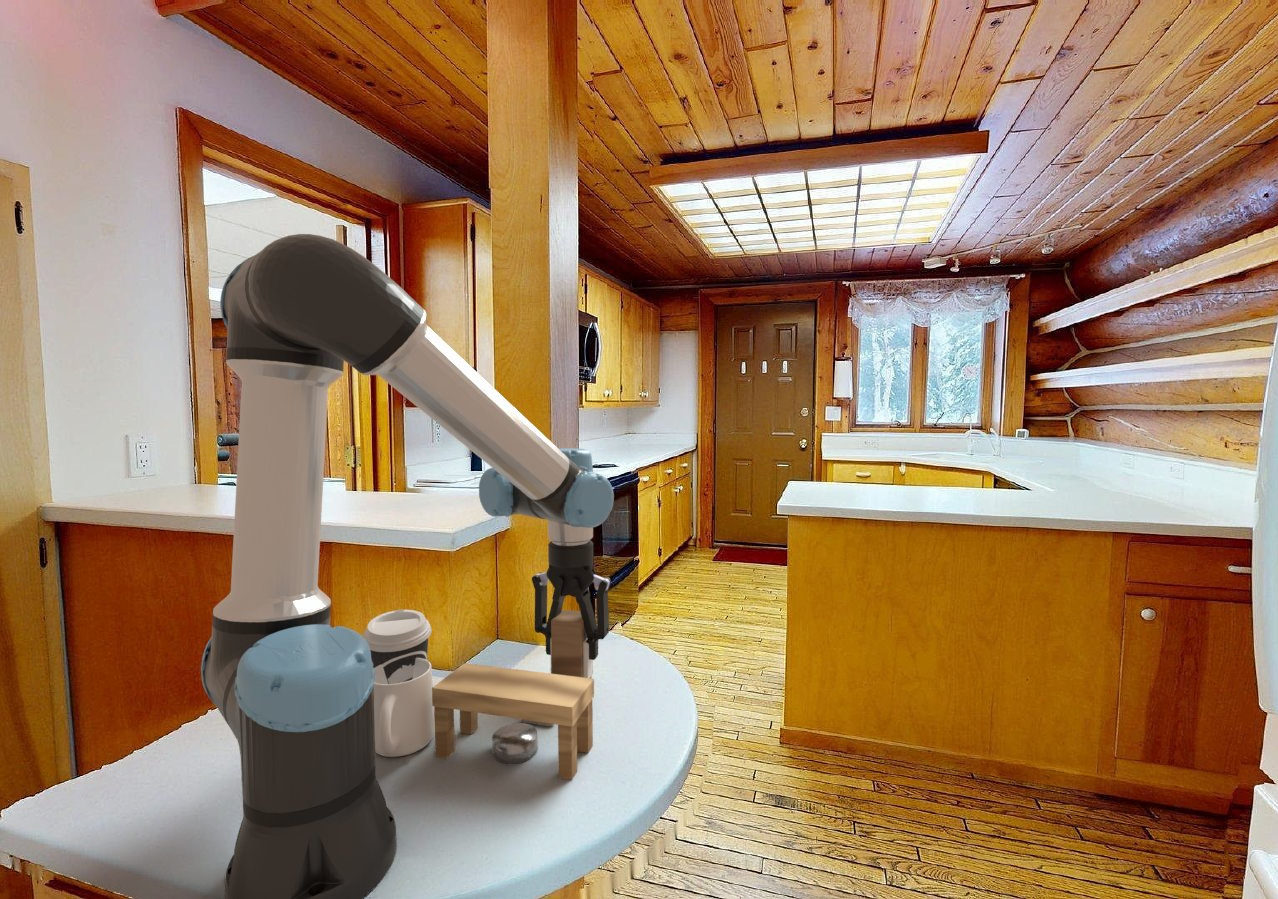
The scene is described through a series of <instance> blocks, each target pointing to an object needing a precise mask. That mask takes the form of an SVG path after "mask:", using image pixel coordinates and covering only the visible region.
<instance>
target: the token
mask: <svg viewBox="0 0 1278 899" xmlns="http://www.w3.org/2000/svg"><path fill="white" fill-rule="evenodd" d="M491 740H492V742H491V743H492V758H493V759H494V760H495V761H496V762H498V763H499V764H503V765H519V764H522V763H525V762H528V761H529V760H531V759H533V758H534V757H535V756H536V755H537V753H538V748H539V746H538V729H537V728H536V727H535V726H534V725H533V724H532V725H531V724H530V723H525V722H515V723H511V724H509V723H508V724H506V725H504V726H501V727H499V728H498V729H496V731H494V732H493V734H492V737H491Z"/></svg>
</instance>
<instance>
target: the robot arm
mask: <svg viewBox="0 0 1278 899" xmlns="http://www.w3.org/2000/svg"><path fill="white" fill-rule="evenodd" d="M220 294H221V295H220V299H219V300H220V303H219V304H220V312H221V313H220V314H221V317H222V321H223V322H224V325H225V328H226V329H227V334H226V336H227V337H226V354H225V355H226V357H225V364H226V365H227V366H228V367H229V368H230V369H231V370H232V371H233V372H234V373H235V374H236V375H237V376H238V378H239V379H240V382H241V386H240V387H241V389H240V390H241V391H240V408H239V425H238V426H239V428H238V445H237V446H238V447H237V464H236V465H237V466H236V467H237V468H236V482H235V483H236V484H235V486H236V487H235V502H234V503H235V506H234V521H233V524H234V525H233V527H234V528H233V543H232V561H231V579H230V580H231V581H230V583H231V584H230V592H229V594H227V596H225V598H223V599H222V600H220V602H219V603H217V604H216V605H215V606H214V607H213V611H212V625H211V637H210V638H209V640H208V642H207V643H206V645H205V648H204V651H203V653H202V658H201V665H200V672H201V682H202V686H203V688H204V691H205V693H206V695H207V696H208V698H209V700H210V701H211V702H212V704H213V705H215V708H217V710H218V711H219V713H220V714H221V716H222V718H223V719H224V721H225V723H226V724H227V725H228V727H229V728H230V730H231V732H232V734H233V735H234V737H235V739H236V740H237V743H238V747H239V754H240V770H241V787H242V788H241V789H242V790H241V791H242V795H241V796H242V809H243V813H242V814H243V815H242V816H243V817H242V820H241V823H240V826H239V830H238V833H237V836H236V841H235V845H234V849H233V850H234V851H233V855H231V858H230V861H229V862H228V865H227V868H226V870H225V871H226V872H225V874H224V875H225V876H224V881H223V884H224V885H223V887H224V890H223V891H224V899H364V898H365V897H366V896H367V895H368V894H369V893H370V892H372V890H373V889H375V887H376V886H377V885H379V884H380V883H381V881H382V880H383V878H384V877H385V876H386V875H387V873H389V872H388V871H389V870H390V868H391V867H392V865H393V862H394V861H395V858H396V853H397V826H396V825H397V824H396V820H395V817H394V815H393V813H392V811H391V809H390V808H389V807H388V806H387V802H386V798H385V796H384V793H383V790H382V788H381V786H380V783H379V781H378V779H377V771H376V768H377V766H376V752H375V724H374V687H373V683H374V677H375V671H374V668H373V662H372V660H371V651H370V647H369V645H368V643H367V641H366V640H365V639H364V638H363V635H361V634H360V633H359V632H357V631H355V630H353V629H351V628H348V627H345V626H342V625H337V626H335V627H332V625H331V612H332V611H331V606H332V604H331V603H332V601H331V600H332V599H331V598H330V597H329V596H328V595H327V594H326V593H325V592H324V591H322V589H320V587H319V586H318V585H319V584H318V583H319V569H320V568H319V567H320V550H321V549H320V547H321V546H320V545H321V530H322V527H321V526H322V525H321V524H322V512H323V511H322V508H323V492H324V491H323V490H324V472H325V471H324V470H325V452H326V451H325V450H326V436H327V414H328V412H327V411H328V399H329V398H328V397H329V395H328V394H329V388H330V387H331V386H332V384H334V383H335V382H336V381H338V380H339V379H340V378H341V377H343V375H344V365H345V364H344V363H347V364H348V365H350V366H351V367H352V368H353V369H354V370H356V371H357V372H359V374H361V375H362V376H378V377H380V378H381V379H382V380H384V382H386V383H387V384H388V385H390V386H391V387H392V388H394V389H395V390H396V391H397V392H398V393H400V394H401V395H402V396H403V397H405V399H407V400H409V401H410V403H412V404H413V405H414V406H415V407H417V408H418V409H419V410H421V411H422V412H423V413H424V414H426V415H427V416H428V417H429V418H430V419H431V420H433V421H434V422H435V423H436V424H438V425H439V426H440V427H441V428H443V429H444V430H445V431H446V432H448V433H449V434H450V435H452V436H453V437H454V438H455V439H456V440H458V442H459V443H461V444H462V445H464V446H465V447H466V448H467V449H468V450H470V451H471V452H473V454H475V455H476V456H477V457H478V458H480V459H481V460H482V461H483V462H485V463H486V464H487V465H488V466H489V467H490V468H488V469H486V470H485V471H484V472H483V473H482V475H481V477H480V479H479V483H478V495H479V496H478V498H479V501H480V504H481V506H482V508H483V510H484V511H485V513H486V514H488V516H491V517H497V518H498V517H506V518H508V517H510V516H514V515H520V516H521V515H522V516H527V517H532V518H536V519H542V520H547V539H548V540H549V543H548V545H547V546H548V548H547V549H548V550H547V553H548V555H547V556H548V557H547V558H548V560H547V561H548V568H547V570H546V572H541V571H540V572H538V573H537V574H535V575H533V576H532V577H531V581H532V584H533V588H534V632H535V633H537V634H540V633H541V634H542V635H544V637H545V653H546V655H548V656H550V674H552V648H551V620H552V619H553V618H554V617H556V616H558V615H559V614H560V613H561V611H562V610H563V606H564V603H565V598H566V597H567V596H569V597H570V596H571V597H573V598H575V601H576V603H577V605H578V607H579V611H580V612H581V616H582V620H583V621H584V627H585V631H586V635H587V639H586V640H585V641H584V642H583V658H584V678H590V677H591V676H593V675H594V661H595V660H596V659H597V657H598V655H599V640H604V639H605V638H606V636H608V634H609V632H610V618H609V617H610V615H609V613H610V612H609V611H610V610H609V589H610V586H611V583H612V579H611V578H610V577H605V578H604V577H602V576H600V575H597V573H596V570H595V568H594V542H593V540H592V539H593V538H594V528H596V527H598V526H600V525H602V524H603V523H604V522H605V521H607V519H608V517H609V516H610V513H611V512H612V509H613V507H614V502H615V500H614V498H615V494H614V489H613V486H612V484H611V483H610V481H609V479H607V477H605V476H604V475H602V474H599V473H596V472H594V468H593V467H594V466H593V458H592V457H593V456H592V453H591V451H589V449H586V448H571V447H569V448H566V447H565V448H558V446H556V445H555V444H554V443H553V442H552V441H551V440H550V439H549V438H548V437H546V436H545V434H543V433H542V432H541V430H539V429H538V428H537V427H536V426H535V425H534V424H533V423H532V422H530V420H528V418H527V417H525V416H524V415H523V414H522V413H521V412H520V411H519V410H518V409H517V408H516V407H515V406H514V405H513V404H511V403H510V402H509V401H508V400H507V399H506V398H505V397H504V396H503V395H502V394H501V393H500V392H499V391H498V390H497V389H496V388H494V387H493V385H491V383H490V382H488V381H487V380H486V379H485V378H484V377H483V376H482V375H480V374H479V372H478V371H476V370H475V368H473V366H471V365H470V364H469V363H468V362H467V361H466V360H465V359H463V357H462V356H460V355H459V354H458V353H457V352H456V351H455V349H453V348H452V347H451V346H450V345H449V344H448V343H446V341H444V340H443V338H442V337H440V336H439V335H438V334H437V333H436V332H435V331H434V330H433V329H432V328H431V327H430V326H428V324H427V311H426V310H425V309H424V308H423V307H422V306H421V305H419V303H418V302H417V301H416V300H415V299H414V298H412V297H411V295H410V294H408V292H406V290H405V289H403V288H402V287H401V286H400V285H399V284H398V283H396V282H395V280H393V278H391V277H390V276H388V275H387V274H386V273H385V272H384V271H382V269H380V268H379V267H378V266H377V265H375V264H374V263H373V262H371V261H370V260H369V259H367V258H366V257H365V256H364V255H362V254H361V253H359V252H358V251H356V250H354V249H353V248H352V247H350V246H348V245H345V243H341V242H340V241H337V240H335V239H332V238H330V237H326V236H322V235H319V234H318V235H317V234H311V233H297V234H291V235H286V236H283V237H280V238H278V239H276V240H273V241H272V242H271V243H269V244H267V245H266V246H264V248H263V249H261V250H259V252H258V253H256V254H254V255H253V256H250V257H248V258H246V259H245V260H243V261H242V262H240V264H237V265H236V267H234V269H233V270H232V271H231V272H230V273H229V275H228V277H227V278H226V279H225V281H224V283H223V286H222V290H221V293H220ZM549 582H550V584H551V585H552V587H553V588H554V590H553V594H552V597H551V599H552V600H551V606H550V610H549V613H548V583H549ZM592 584H594V589H595V590H596V617H595V612H594V609H593V605H592V602H591V592H590V586H592ZM591 678H592V677H591Z"/></svg>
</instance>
